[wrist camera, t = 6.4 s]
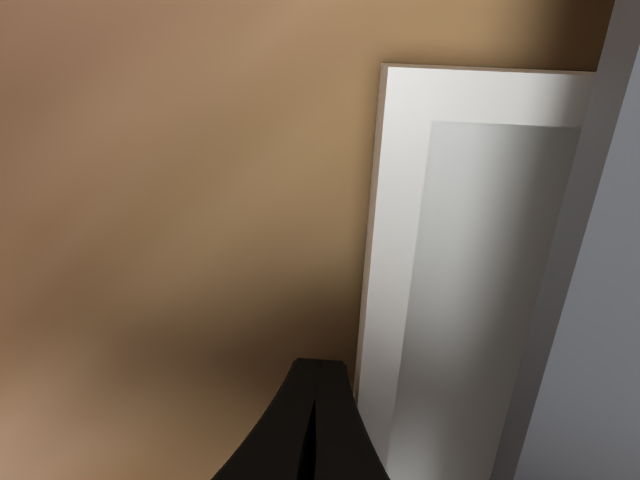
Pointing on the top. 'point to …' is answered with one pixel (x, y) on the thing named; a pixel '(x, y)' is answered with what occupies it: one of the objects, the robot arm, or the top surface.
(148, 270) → the top surface
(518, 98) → the tray
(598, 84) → the shelf
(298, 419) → the robot arm
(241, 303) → the top surface
